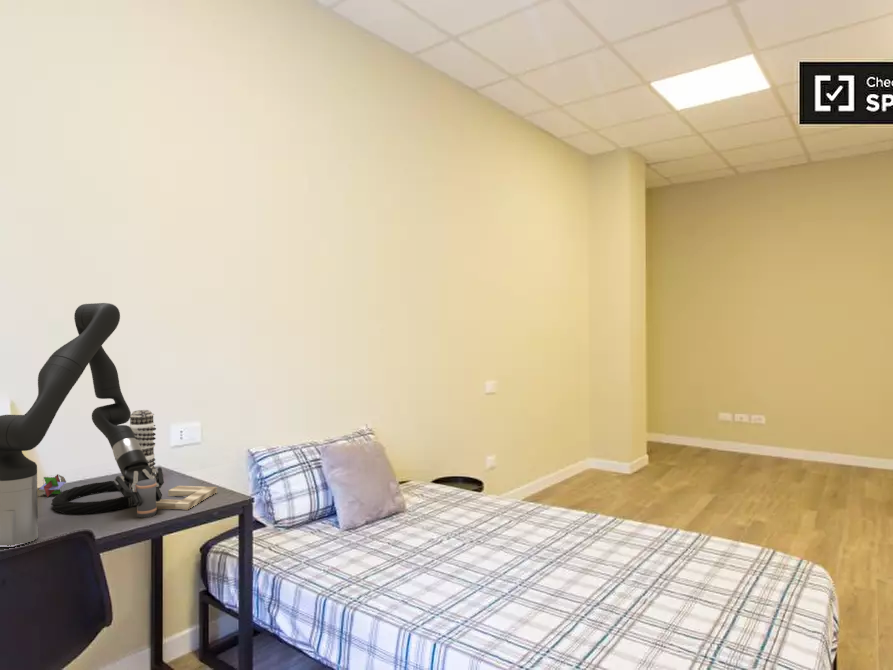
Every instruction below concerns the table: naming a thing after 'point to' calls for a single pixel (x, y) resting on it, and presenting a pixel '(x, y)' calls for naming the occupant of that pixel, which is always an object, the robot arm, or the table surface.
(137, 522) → the table surface
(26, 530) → the robot arm
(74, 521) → the table surface
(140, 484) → the grey banded cylinder
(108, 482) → the cable lock
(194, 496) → the wooden u-shaped frame
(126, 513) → the table surface
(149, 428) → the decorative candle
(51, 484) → the geometric puzzle
